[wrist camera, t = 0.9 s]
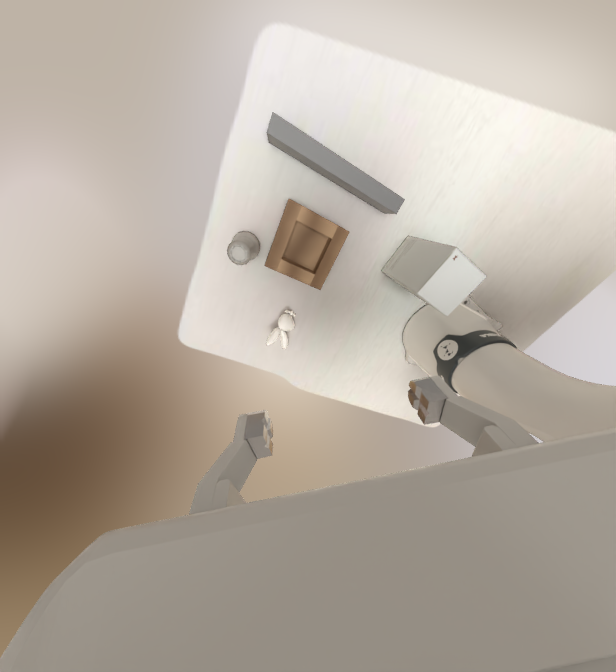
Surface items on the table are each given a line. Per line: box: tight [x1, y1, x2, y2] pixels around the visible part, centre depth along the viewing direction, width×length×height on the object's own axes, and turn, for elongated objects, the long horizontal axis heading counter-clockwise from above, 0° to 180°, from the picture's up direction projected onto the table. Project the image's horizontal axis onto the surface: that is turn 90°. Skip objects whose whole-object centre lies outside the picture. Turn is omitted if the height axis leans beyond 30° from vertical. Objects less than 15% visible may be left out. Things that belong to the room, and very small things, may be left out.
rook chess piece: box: [227, 231, 260, 265], centre depth 33 cm, size 4×4×8 cm
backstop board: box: [267, 112, 405, 214], centre depth 30 cm, size 20×2×4 cm, turn 65°
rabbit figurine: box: [266, 310, 295, 349], centre depth 43 cm, size 6×4×8 cm
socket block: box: [265, 199, 349, 290], centre depth 35 cm, size 10×10×4 cm
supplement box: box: [382, 236, 487, 316], centre depth 35 cm, size 7×7×13 cm
